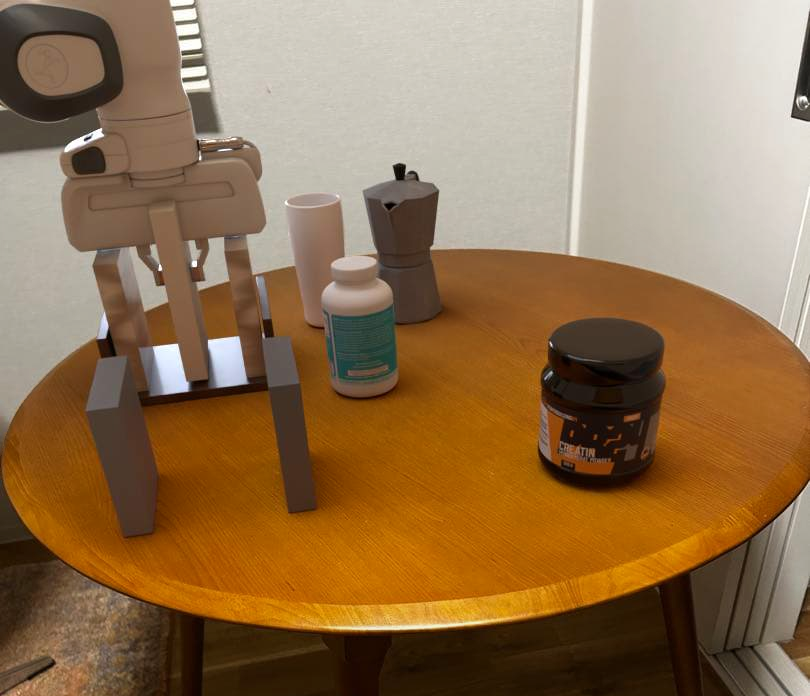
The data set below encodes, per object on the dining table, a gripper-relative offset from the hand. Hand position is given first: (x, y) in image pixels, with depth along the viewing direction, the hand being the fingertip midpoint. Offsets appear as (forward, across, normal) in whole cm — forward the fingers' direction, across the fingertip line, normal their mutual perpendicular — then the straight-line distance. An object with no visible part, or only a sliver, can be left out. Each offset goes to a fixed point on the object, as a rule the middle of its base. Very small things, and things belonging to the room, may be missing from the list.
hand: (181, 282), depth 91 cm
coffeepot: (+11, -27, -12) cm, 31 cm away
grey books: (+11, -2, +27) cm, 29 cm away
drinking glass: (+11, -16, -11) cm, 22 cm away
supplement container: (+11, -36, +31) cm, 49 cm away
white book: (+9, 0, 0) cm, 9 cm away
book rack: (+11, 0, 0) cm, 11 cm away
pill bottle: (+11, -18, +9) cm, 23 cm away
